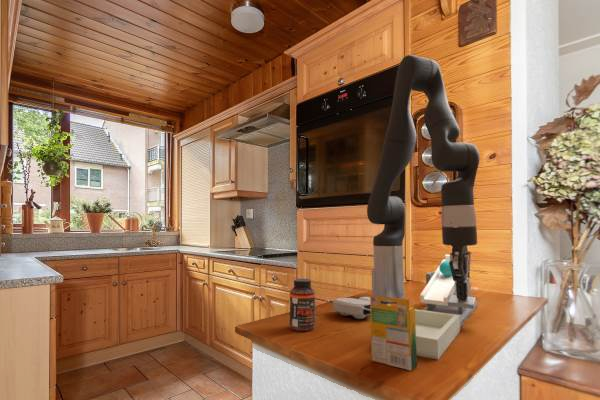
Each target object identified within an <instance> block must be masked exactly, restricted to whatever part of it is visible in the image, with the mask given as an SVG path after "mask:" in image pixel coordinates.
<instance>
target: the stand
mask: <svg viewBox="0 0 600 400" xmlns="http://www.w3.org/2000/svg"><path fill="white" fill-rule="evenodd" d="M435 272H436V271H429V272H426V273H425V280H426V281H425V283H426V285H427V284H428V282H429V281H430V279H431V278H432V276H433V275H434V273H435ZM476 308H478V302H477V301H476V303H475V306H474V309H470V308H461V307H453V306H444V305H436V304H427V303H426V306H425V307H423V308H422V309H421V310H425V311H432V312H440V313H448V314H455V315H460V328H462V326H464V324H465V323H466V321H467V320H468V319H469V318H470V316H471V315H472V314H473V313H474V311H475V310H476Z"/></svg>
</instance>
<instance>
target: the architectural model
mask: <svg viewBox="0 0 600 400" xmlns="http://www.w3.org/2000/svg"><path fill="white" fill-rule="evenodd" d="M470 279H471V276H470V277H469V281H468V282H467V287H468V297H472V296H471V295H472V293H471V291H475V290H478V289H479V287H476V286H471V280H470ZM453 295H457V293H456V290H455V292H454V294H453Z"/></svg>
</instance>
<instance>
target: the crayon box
mask: <svg viewBox="0 0 600 400" xmlns="http://www.w3.org/2000/svg"><path fill="white" fill-rule="evenodd" d="M369 295H370V296H369V297H370V303H371V306H370V313H371V315H370V348H371V349H370V351H371V354H370V357H371V358H370V359H371V362H372V363H374V362H375V363H379V364H382V365H383V364H384V365H387V366H391V367H396V368H400V369H403V370H407V371H410V372H411V371H412V370H413V369H415V368H416V367H417V366H418V357H417V350H416V324H415V309H416V308H415V307H410V305H409V304H410V300H409V299H405V298H404V299H399V298H390V297H383V296H374V295H372V294H369ZM381 300H385V301H387V300H390V301H392V302H391V303H397V305H393V304H390V305H388V304H389V303H387V304H382V303H381V302H382V301H381Z"/></svg>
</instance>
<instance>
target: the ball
mask: <svg viewBox="0 0 600 400" xmlns="http://www.w3.org/2000/svg"><path fill="white" fill-rule="evenodd" d="M441 262H442V261H441ZM439 265H440V267H439V266H438V267H439V269H440V272H441V273H442V274H443V275H446V276H450V275H452V273H451V269H450V264H449V261H444V262H442V263H440V264H439Z"/></svg>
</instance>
